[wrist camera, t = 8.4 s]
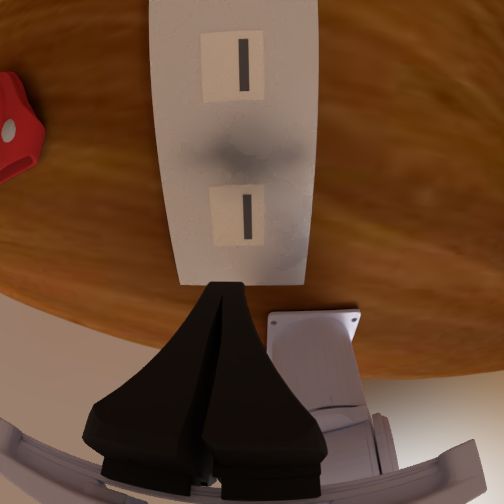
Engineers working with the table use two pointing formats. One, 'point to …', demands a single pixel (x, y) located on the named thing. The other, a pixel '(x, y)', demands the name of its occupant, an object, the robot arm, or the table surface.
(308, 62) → the white slotted plate
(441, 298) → the table surface
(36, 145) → the tracker holder
